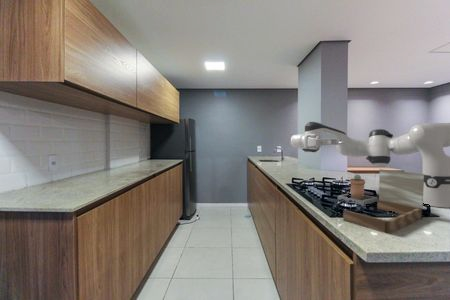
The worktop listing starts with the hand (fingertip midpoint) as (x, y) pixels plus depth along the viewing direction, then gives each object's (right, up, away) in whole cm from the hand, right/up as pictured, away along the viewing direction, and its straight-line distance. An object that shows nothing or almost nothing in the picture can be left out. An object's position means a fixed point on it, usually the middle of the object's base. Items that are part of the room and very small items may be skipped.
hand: (337, 142), depth 131 cm
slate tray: (+9, -30, -4) cm, 32 cm away
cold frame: (+5, -32, -31) cm, 45 cm away
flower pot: (+9, -29, -4) cm, 31 cm away
